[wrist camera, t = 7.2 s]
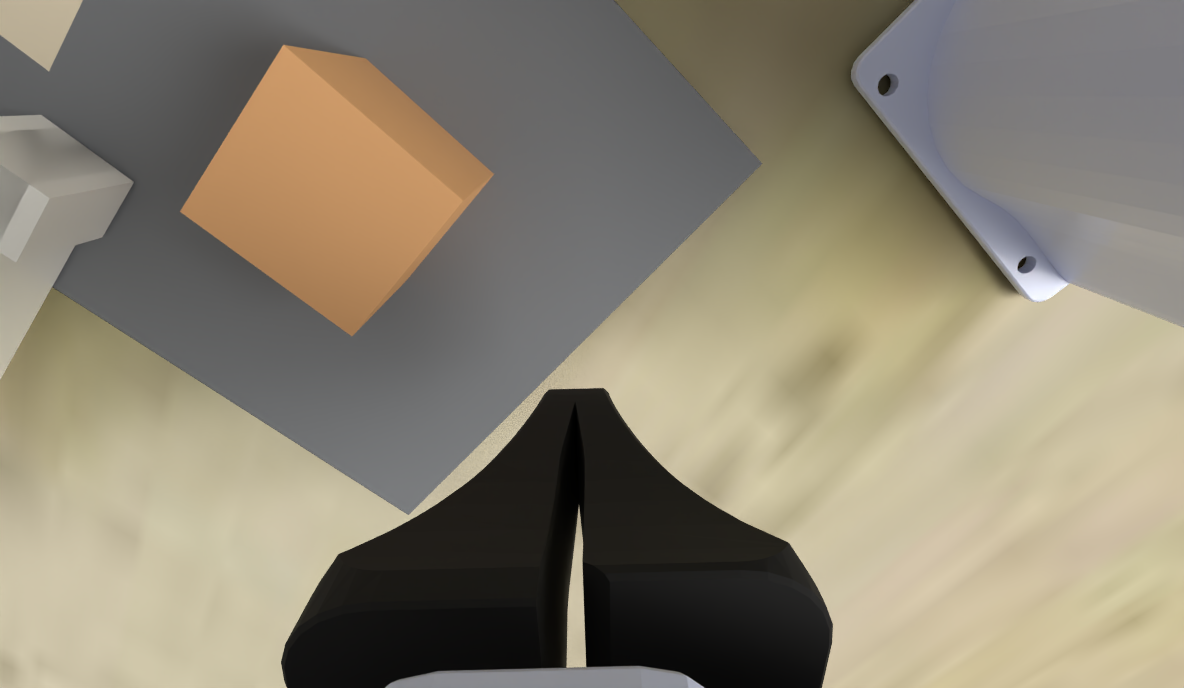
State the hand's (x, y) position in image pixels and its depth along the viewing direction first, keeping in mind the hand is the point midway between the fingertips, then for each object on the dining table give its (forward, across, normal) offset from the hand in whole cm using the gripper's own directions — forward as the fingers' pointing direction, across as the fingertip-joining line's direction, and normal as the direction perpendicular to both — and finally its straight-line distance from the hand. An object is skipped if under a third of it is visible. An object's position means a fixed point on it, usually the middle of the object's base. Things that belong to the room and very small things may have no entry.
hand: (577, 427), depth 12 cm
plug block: (+5, +5, -5) cm, 8 cm away
